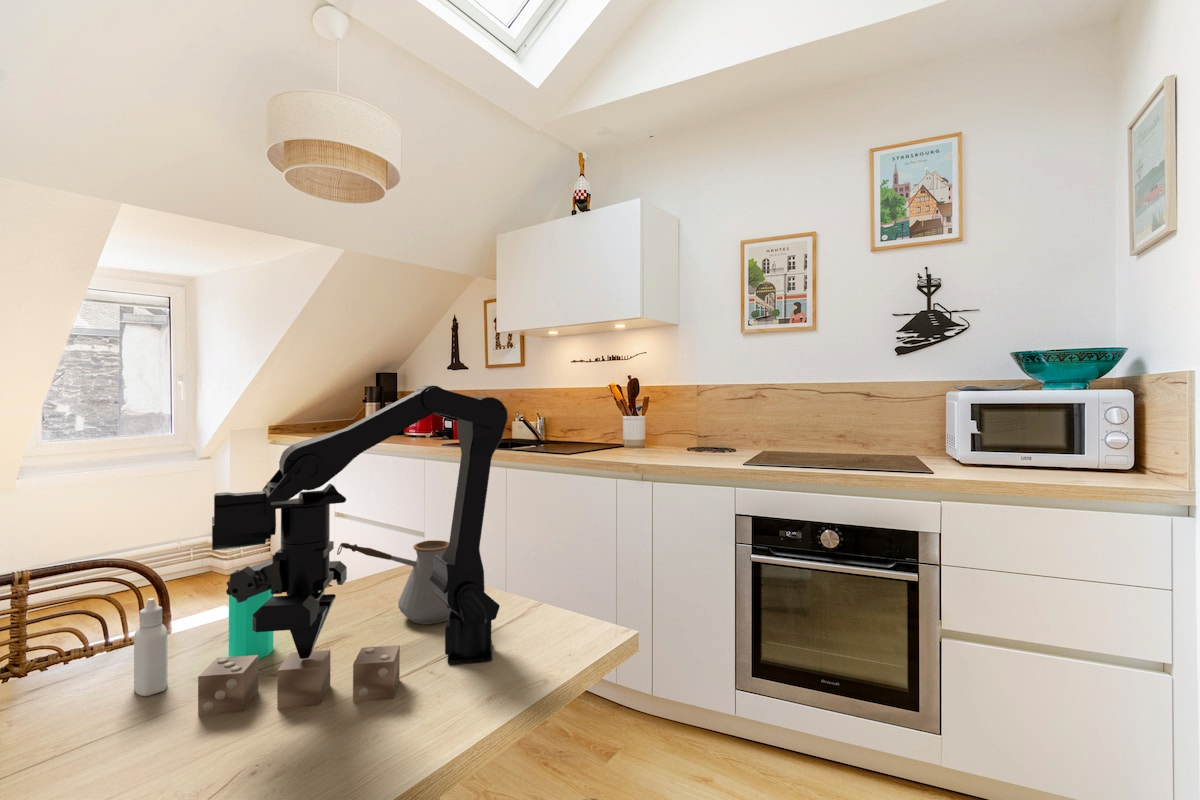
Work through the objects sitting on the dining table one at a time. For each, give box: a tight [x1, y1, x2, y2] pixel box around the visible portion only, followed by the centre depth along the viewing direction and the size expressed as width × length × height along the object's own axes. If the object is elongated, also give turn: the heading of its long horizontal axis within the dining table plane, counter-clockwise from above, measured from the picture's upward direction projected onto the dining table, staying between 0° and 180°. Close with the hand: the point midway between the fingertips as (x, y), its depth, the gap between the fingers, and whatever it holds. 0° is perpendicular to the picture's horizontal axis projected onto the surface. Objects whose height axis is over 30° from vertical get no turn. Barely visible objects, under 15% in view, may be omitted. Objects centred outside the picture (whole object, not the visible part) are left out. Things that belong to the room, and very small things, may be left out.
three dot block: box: [197, 655, 259, 717], centre depth 74 cm, size 5×5×5 cm
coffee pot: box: [336, 539, 452, 625], centre depth 101 cm, size 21×12×15 cm, turn 119°
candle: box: [228, 589, 275, 660], centre depth 88 cm, size 6×6×12 cm
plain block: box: [276, 649, 331, 710], centre depth 75 cm, size 5×5×5 cm
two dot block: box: [352, 644, 401, 703], centre depth 77 cm, size 5×5×5 cm
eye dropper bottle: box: [133, 597, 169, 697], centre depth 77 cm, size 4×6×12 cm
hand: (305, 657), depth 75 cm, fingers closed
